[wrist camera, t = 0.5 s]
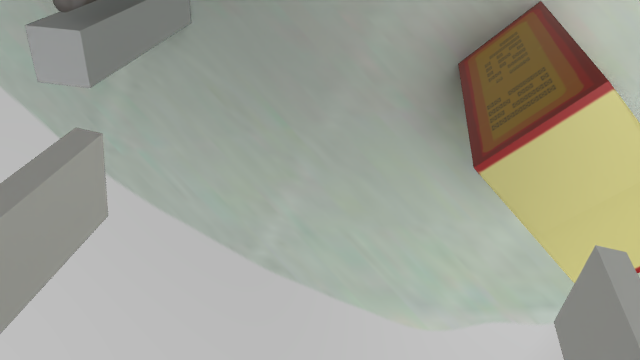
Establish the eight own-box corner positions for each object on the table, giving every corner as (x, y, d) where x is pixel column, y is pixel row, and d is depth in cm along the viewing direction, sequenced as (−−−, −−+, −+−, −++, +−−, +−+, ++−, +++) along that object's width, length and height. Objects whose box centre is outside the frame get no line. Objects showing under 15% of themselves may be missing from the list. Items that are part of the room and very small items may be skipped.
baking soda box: (618, 105, 38) (725, 239, 24) (534, 156, 41) (588, 302, 27) (540, 0, 35) (611, 84, 22) (458, 63, 38) (474, 171, 25)
